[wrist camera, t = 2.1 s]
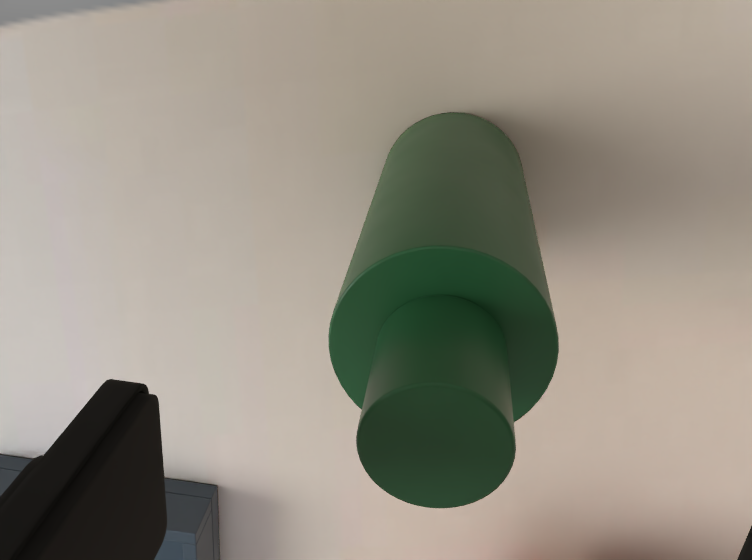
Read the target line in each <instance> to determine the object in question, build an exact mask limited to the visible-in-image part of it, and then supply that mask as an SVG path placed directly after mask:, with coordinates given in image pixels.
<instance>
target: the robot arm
mask: <svg viewBox="0 0 752 560" xmlns="http://www.w3.org/2000/svg"><path fill="white" fill-rule="evenodd" d="M166 529H167V509H166V496H165V482H164V469H163V455H162V441H161V428H160V414H159V402H158V398H157V396H156V395H153V394H149V391H148V388H147V386H146V385H145V384H141V383H134V382H127V381H120V380H113V379H110V380H107V381H106V382H105V383H103V384H102V386H101V387H100V388H99V389H98V391H97V392H96V393H95V394H94V395H93V397H92V398H91V399H90V400H89V401H88V403H87V404H86V405H85V406H84V407H83V409H82V410H81V411H80V412H79V414H78V415H77V416H76V417H75V418H74V420H73V421H72V422H71V423H70V424H69V426H68V427H67V428H66V429H65V430H64V432H63V433H62V434H61V435H60V436H59V438H58V439H57V440H56V441H55V443H54V444H53V445H52V446H51V447H50V449H49V450H48V451H47V452H46V453H45V455H44V456H42V455H41V456H39V457H36V458H34V459H33V460H32V461H31V462H30V463H29V464H27V465H26V467H25V468H24V469H23V470H22V471H21V472H20V474H19V475H18V476H17V477H16V478H15V480H14V481H13V482H12V483H11V484H10V486H9V487H8V488H7V489H6V490H5V491H4V493H3V494H2V495H1V496H0V560H154V559H155V557H156V555H157V553H158V551H159V549H160V547H161V545H162V543H163V540H164V537H165V534H166ZM738 560H752V526H751V529H750V531H749V533H748V536H747V538H746V541H745V543H744V545H743V548H742V550H741V552H740V555H739V557H738Z"/></svg>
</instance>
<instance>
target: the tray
mask: <svg viewBox="0 0 752 560" xmlns="http://www.w3.org/2000/svg"><path fill="white" fill-rule="evenodd" d="M32 460H33V459H26V458H19V457H13V456H6V455H0V496H1V495H2V494H3V493H4V491H5V490H6V489H7V488H8V487H9V486H10V484H11V483H12V482H13V481H14V480H15V478H16V477H17V476H18V475H19V474H20V472H21V471H22V470H23V469H24V468H25V467H26V465H27V464H29V463H30V462H31V461H32ZM164 482H165V496H166V509H167V529H166V534H165V537H164V540H163V543H162V545H161V547H160V549H159V551H158V553H157V555H156V557H155V559H154V560H220V551H219V523H218V496H217V486H215V485H208V484H201V483H194V482H187V481H180V480H173V479H166V478H164Z"/></svg>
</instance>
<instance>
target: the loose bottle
mask: <svg viewBox="0 0 752 560" xmlns="http://www.w3.org/2000/svg"><path fill="white" fill-rule="evenodd" d="M329 351H330V357H331V362H332V365H333V368H334V371H335V373H336V375H337V377H338V379H339V381H340V384H341V385H342V387H343V388H344V390H345V391H346V393H347V394H348V396H349V397H350V398H351V399H352V400H353V401H354V403H355V404H356V405H357V406H358V407H359V408H361V409H362V412H361V416H360V421H359V425H358V430H357V436H356V442H357V451H358V455H359V458H360V461H361V463H362V465H363V467H364V469H365V470H366V472H367V473H368V475H369V476H370V477H371V479H372V480H373V481H374V482H375V483H376V484H377V485H378V486H379V487H381V488H382V489H383V490H384V491H386V492H387V493H389V494H390V495H392V496H394V497H396V498H398V499H400V500H402V501H405V502H407V503H410V504H414V505H417V506H423V507H429V508H452V507H458V506H463V505H467V504H470V503H473V502H475V501H478V500H480V499H482V498H484V497H485V496H487V495H489V494H490V493H492V492H493V491H494V490H495V489H497V488H498V487H499V485H500V484H501V483H502V482H503V481H504V480H505V478H506V477H507V475H508V474H509V472H510V470H511V468H512V465H513V462H514V459H515V452H516V445H515V432H514V422H515V421H517V420H518V419H520V418H521V417H522V416H523V415H525V414H526V413H527V412H528V411H529V410H530V409H531V408H532V407H533V406H534V405H535V404H536V403H537V402H538V401H539V399H540V398H541V397H542V395H543V394H544V392H545V391H546V389H547V387H548V385H549V383H550V381H551V379H552V377H553V374H554V371H555V368H556V365H557V359H558V352H559V346H558V333H557V327H556V322H555V317H554V313H553V308H552V303H551V299H550V294H549V289H548V285H547V280H546V276H545V271H544V266H543V262H542V257H541V252H540V248H539V243H538V238H537V234H536V229H535V225H534V220H533V215H532V211H531V206H530V201H529V197H528V192H527V188H526V183H525V178H524V174H523V169H522V164H521V161H520V158H519V155H518V153H517V151H516V149H515V147H514V145H513V144H512V142H511V141H510V139H509V138H508V137H507V136H506V135H505V134H504V133H503V132H502V131H501V130H500V129H499V128H498V127H496V126H495V125H493V124H492V123H490V122H489V121H487V120H484V119H482V118H480V117H477V116H474V115H470V114H464V113H442V114H438V115H433V116H430V117H428V118H425V119H423V120H421V121H419V122H417V123H415V124H414V125H412V126H411V127H410V128H408V129H407V130H406V131H405V132H404V133H403V134H402V135H401V136H400V137H399V138H398V139H397V141H396V142H395V143H394V145H393V147H392V148H391V150H390V152H389V155H388V157H387V159H386V162H385V165H384V168H383V171H382V174H381V177H380V179H379V182H378V185H377V188H376V191H375V194H374V197H373V199H372V202H371V205H370V208H369V211H368V214H367V217H366V220H365V222H364V225H363V228H362V231H361V234H360V237H359V240H358V242H357V245H356V248H355V251H354V254H353V257H352V260H351V263H350V265H349V268H348V271H347V274H346V277H345V280H344V283H343V285H342V288H341V291H340V294H339V297H338V300H337V303H336V305H335V308H334V311H333V315H332V318H331V322H330V328H329Z"/></svg>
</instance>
